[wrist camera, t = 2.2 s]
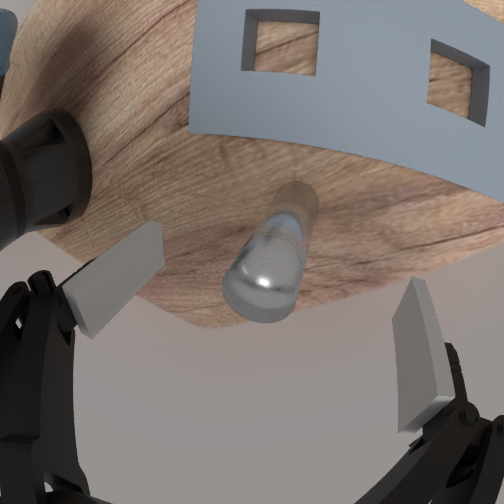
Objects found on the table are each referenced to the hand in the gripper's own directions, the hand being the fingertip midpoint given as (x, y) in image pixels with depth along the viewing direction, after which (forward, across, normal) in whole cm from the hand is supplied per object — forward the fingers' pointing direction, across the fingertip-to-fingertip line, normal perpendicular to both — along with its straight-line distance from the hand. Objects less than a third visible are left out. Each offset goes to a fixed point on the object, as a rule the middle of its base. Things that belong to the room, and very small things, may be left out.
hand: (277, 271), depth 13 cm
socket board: (+10, +4, +12) cm, 16 cm away
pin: (+10, 0, 0) cm, 10 cm away
